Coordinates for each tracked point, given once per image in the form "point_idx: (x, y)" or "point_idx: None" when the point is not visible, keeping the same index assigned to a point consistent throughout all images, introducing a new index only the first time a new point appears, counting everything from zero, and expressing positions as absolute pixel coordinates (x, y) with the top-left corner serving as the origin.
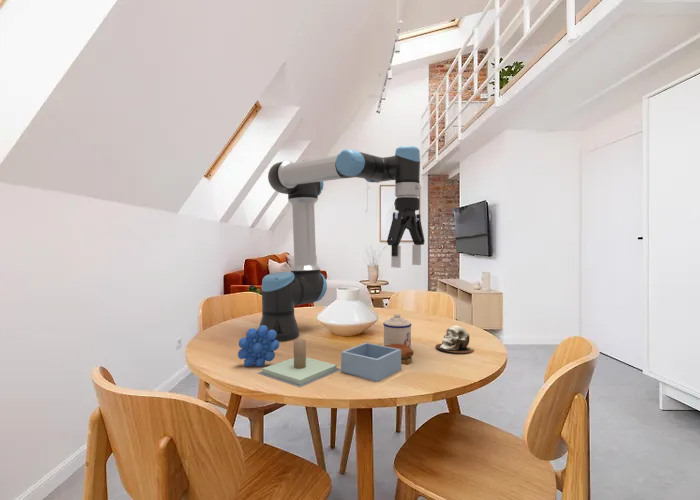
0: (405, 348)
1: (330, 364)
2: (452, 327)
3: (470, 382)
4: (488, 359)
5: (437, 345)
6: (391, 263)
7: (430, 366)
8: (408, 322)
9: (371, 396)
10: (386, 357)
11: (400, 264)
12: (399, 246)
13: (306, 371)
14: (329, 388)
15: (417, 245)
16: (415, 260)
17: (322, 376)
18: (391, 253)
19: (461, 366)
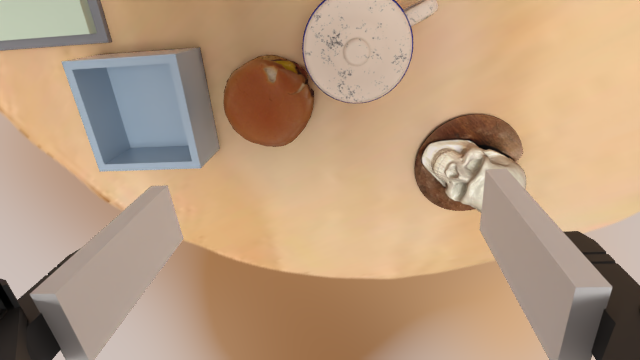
0: (265, 136)
1: (78, 17)
2: (479, 188)
3: (267, 267)
4: (424, 252)
5: (462, 120)
6: (137, 199)
7: (293, 180)
8: (366, 95)
9: (86, 175)
10: (136, 169)
11: (173, 250)
12: (73, 357)
13: (3, 8)
14: (38, 93)
15: (556, 339)
16: (495, 214)
17: (44, 42)
18: (63, 260)
19: (339, 227)
